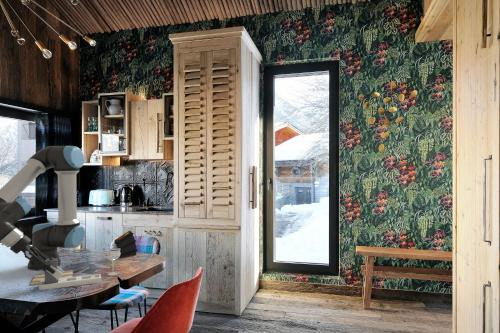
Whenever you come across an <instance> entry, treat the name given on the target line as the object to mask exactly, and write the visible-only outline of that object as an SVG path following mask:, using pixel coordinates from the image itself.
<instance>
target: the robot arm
mask: <svg viewBox="0 0 500 333" xmlns="http://www.w3.org/2000/svg"><path fill="white" fill-rule="evenodd" d="M84 164H85V155H84V152H83V150H82V149H81V148H79V147H78V146H74V145H49V146H46V147H43V148H41V149H40V150H38V151H36V152H35V153H34V154H32V156H30V157H29V158H28V159H27V160H26V164H25V165H24V166H23V167H21V169H20V170H19V171H18V172H16V174H15V175H13V176H12V177H11V178H10V179H9V180H8V181H7V182H6V183H5V184H4V185H3V186H2V187H1V188H0V244H1V246H5V247H6V248H9V247H10V248H9V250H11V251H12V252H13V253H14V254H16V255H17V254H19V253H20V252H22V253H23V255H24V258H26V259H27V260H28V262H27V270H30V271H31V270H33V271H40V270H42V273H45V271H47V272H49V273H50V274H51V275H52V276H54V277H55V278H56V279H59V278H60V277H61V276H62V275H63V274H62V273H63V272H64V271H65V270H63V269H62V268H60V265H61V263H62V262H61V260H62V259H61V258H60V257H61V256H60V255H59V251H58V248H59V249H60V248H65V249H75V248H78V247H79V246H80V245H81V244H82V242H84V239H85V236H86V230H85V227H83V226H82V225H81V221H80V220H79V219H78V216H77V214H78V213H77V207H78V206H77V203H78V201H77V174H78V173H79V172H80V168H82V167H83V166H84ZM49 169H54V173H56V174H57V211H58V212H57V215H58V216H57V218H58V219H57V221H54V222H45V223H39V224H35V225H33V227H32V233H31V238H30V237H29V236H27V234H26V235H25V234H24V232H23V231H21V230H20V229H19V228H17V227H16V226H15V224H16V223H17V222H19V221H20V220H21V219H22V218H24V217H25V216H26V215H27V214H28V213H29V212H30V211H31V209H32V205H31V203H30V202H29V201H28V200H27V199H25V198H23V197H19V196H20V195H21V194H22V193H23V191H25V190H26V189H27V188H28V187H29V186H30V185H31V183H32V182H33V181H34V180H36V178H37V177H38V176H39V175H41V174H44V173H45V172H46V171H47V170H49ZM30 243H31V245H30ZM50 258H53V259H54V258H58V262H57V269H56V268H54V267H53V266H52V265H51V266H50V264H48V263H47V262H46V259H50Z"/></svg>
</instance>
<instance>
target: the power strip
mask: <svg viewBox="0 0 500 333" xmlns="http://www.w3.org/2000/svg"><path fill="white" fill-rule="evenodd" d="M100 283H102V274H101V273H96V274H95V273H94V274H88V275H87V274H86V275H79V276H72V277H68V278H60V279H57V283H51V284H45V280H43V281H41V282H40V285H38V291H45V290H51V289H52V290H54V289H58V288H59V289H60V288H68V287H76V286H83V285H92V284H100Z"/></svg>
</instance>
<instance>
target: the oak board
mask: <svg viewBox="0 0 500 333" xmlns="http://www.w3.org/2000/svg"><path fill="white" fill-rule="evenodd" d="M63 271H64V272H63V273H62V274H63V275H62V276H61V277H60V278H68V277H73V272H74V270H73V269H70V270H63ZM60 278H59V279H60ZM43 280H45V272H40V273H35V274H34V276H33V278H32V280H31V282H30V287H31V286H39V285H40V282H41V281H43Z"/></svg>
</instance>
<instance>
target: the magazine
mask: <svg viewBox="0 0 500 333" xmlns="http://www.w3.org/2000/svg"><path fill="white" fill-rule="evenodd" d="M136 242H137V240H136V239H135V236H134V232H133V231H132V230H128V231H127V232H125V233H124V234H122V235H120V236H119V237H117V238H116V239H114V242H113V243H114V244H115V245H116V248H119V249H120V252H121V254H120V257H119V258H118V259H122V258H129V257H133V256H136V255H137V252H138V249H137V244H136Z"/></svg>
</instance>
